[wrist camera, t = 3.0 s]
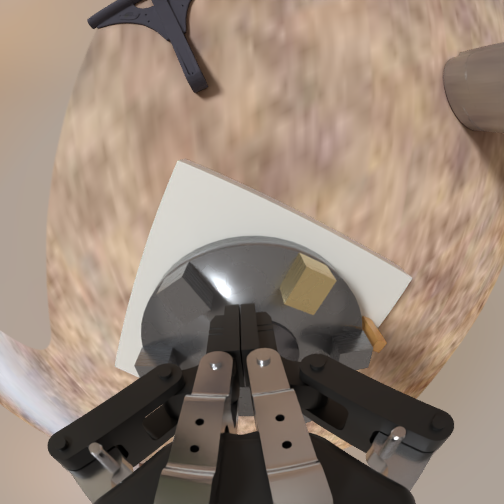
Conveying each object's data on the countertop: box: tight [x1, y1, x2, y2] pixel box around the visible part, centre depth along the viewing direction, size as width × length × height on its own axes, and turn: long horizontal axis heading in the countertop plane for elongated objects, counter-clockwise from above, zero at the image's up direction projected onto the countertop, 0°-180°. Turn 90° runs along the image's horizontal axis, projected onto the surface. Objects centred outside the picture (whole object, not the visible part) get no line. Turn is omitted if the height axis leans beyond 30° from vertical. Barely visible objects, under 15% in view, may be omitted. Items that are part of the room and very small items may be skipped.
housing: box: [115, 159, 412, 378], centre depth 25 cm, size 24×24×7 cm
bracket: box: [88, 0, 208, 93], centre depth 17 cm, size 14×15×3 cm
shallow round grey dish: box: [134, 236, 373, 423], centre depth 23 cm, size 20×20×5 cm
